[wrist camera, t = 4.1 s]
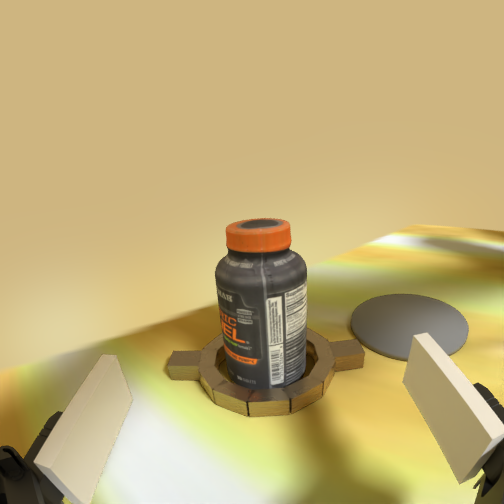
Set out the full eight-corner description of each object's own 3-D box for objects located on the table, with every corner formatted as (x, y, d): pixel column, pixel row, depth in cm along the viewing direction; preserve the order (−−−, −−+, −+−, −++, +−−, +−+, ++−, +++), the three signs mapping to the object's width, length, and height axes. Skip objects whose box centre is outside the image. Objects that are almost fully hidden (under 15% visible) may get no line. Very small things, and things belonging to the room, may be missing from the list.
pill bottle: (216, 363, 23) (196, 223, 20) (278, 341, 26) (272, 211, 23) (251, 407, 18) (234, 239, 15) (322, 375, 21) (326, 222, 18)
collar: (343, 329, 27) (344, 315, 26) (378, 401, 17) (382, 386, 17) (185, 339, 27) (183, 326, 26) (159, 415, 17) (153, 401, 17)
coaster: (431, 292, 31) (431, 288, 31) (489, 344, 20) (490, 339, 19) (337, 304, 31) (337, 300, 31) (375, 373, 20) (376, 368, 20)
